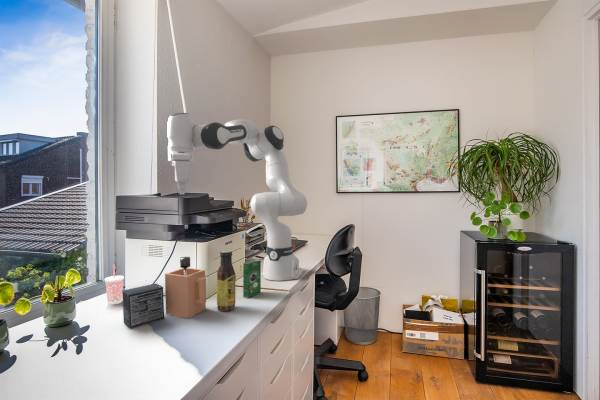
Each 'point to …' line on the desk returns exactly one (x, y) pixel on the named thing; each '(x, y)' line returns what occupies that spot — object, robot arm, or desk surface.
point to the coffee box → (251, 278)
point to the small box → (143, 305)
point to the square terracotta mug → (185, 292)
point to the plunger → (185, 264)
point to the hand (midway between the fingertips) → (181, 194)
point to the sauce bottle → (226, 282)
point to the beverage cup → (114, 288)
